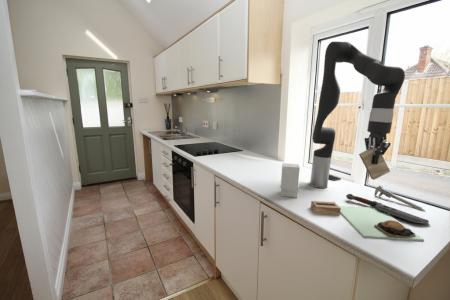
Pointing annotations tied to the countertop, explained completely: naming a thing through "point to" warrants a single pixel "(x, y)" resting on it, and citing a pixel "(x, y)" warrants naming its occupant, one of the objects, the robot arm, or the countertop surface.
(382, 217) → the mat
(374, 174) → the board
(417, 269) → the countertop surface
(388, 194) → the caliper
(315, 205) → the stand
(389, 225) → the bread roll
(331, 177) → the phone
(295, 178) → the skincare box
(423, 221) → the knife
